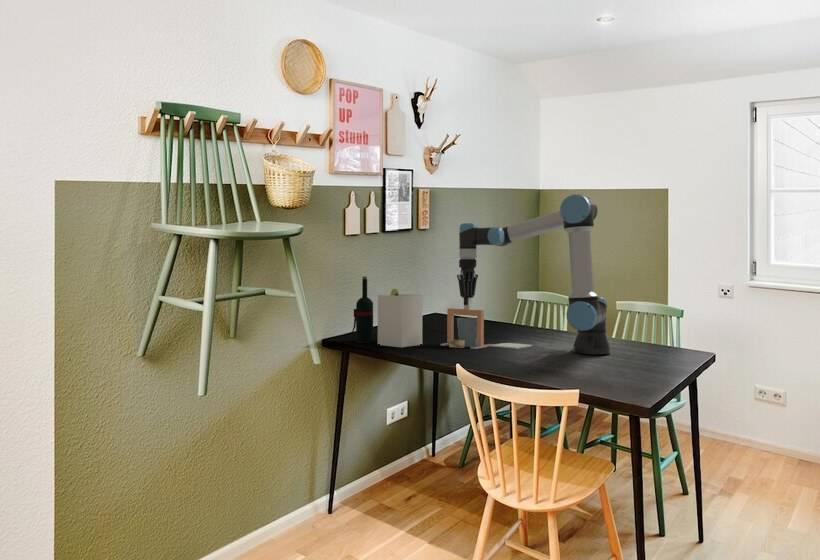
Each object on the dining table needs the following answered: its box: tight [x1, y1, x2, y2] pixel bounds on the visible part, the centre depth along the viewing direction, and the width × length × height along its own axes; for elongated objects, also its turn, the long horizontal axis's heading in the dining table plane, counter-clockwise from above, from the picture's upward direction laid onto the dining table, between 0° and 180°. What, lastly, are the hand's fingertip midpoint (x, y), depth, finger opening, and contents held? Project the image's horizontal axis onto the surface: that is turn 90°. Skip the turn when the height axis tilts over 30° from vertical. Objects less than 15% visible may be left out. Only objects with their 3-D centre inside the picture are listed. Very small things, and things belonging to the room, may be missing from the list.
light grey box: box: [377, 293, 424, 348], centre depth 285 cm, size 14×14×22 cm
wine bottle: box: [351, 276, 374, 343], centre depth 291 cm, size 8×10×30 cm
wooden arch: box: [446, 307, 485, 346], centre depth 281 cm, size 18×2×15 cm, turn 50°
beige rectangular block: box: [448, 338, 465, 349], centre depth 282 cm, size 6×18×3 cm, turn 140°
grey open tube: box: [456, 317, 478, 348], centre depth 282 cm, size 10×10×12 cm
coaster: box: [490, 342, 533, 350], centre depth 280 cm, size 13×13×1 cm
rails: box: [439, 342, 495, 350], centre depth 283 cm, size 18×15×1 cm
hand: (467, 312), depth 282 cm, fingers closed
